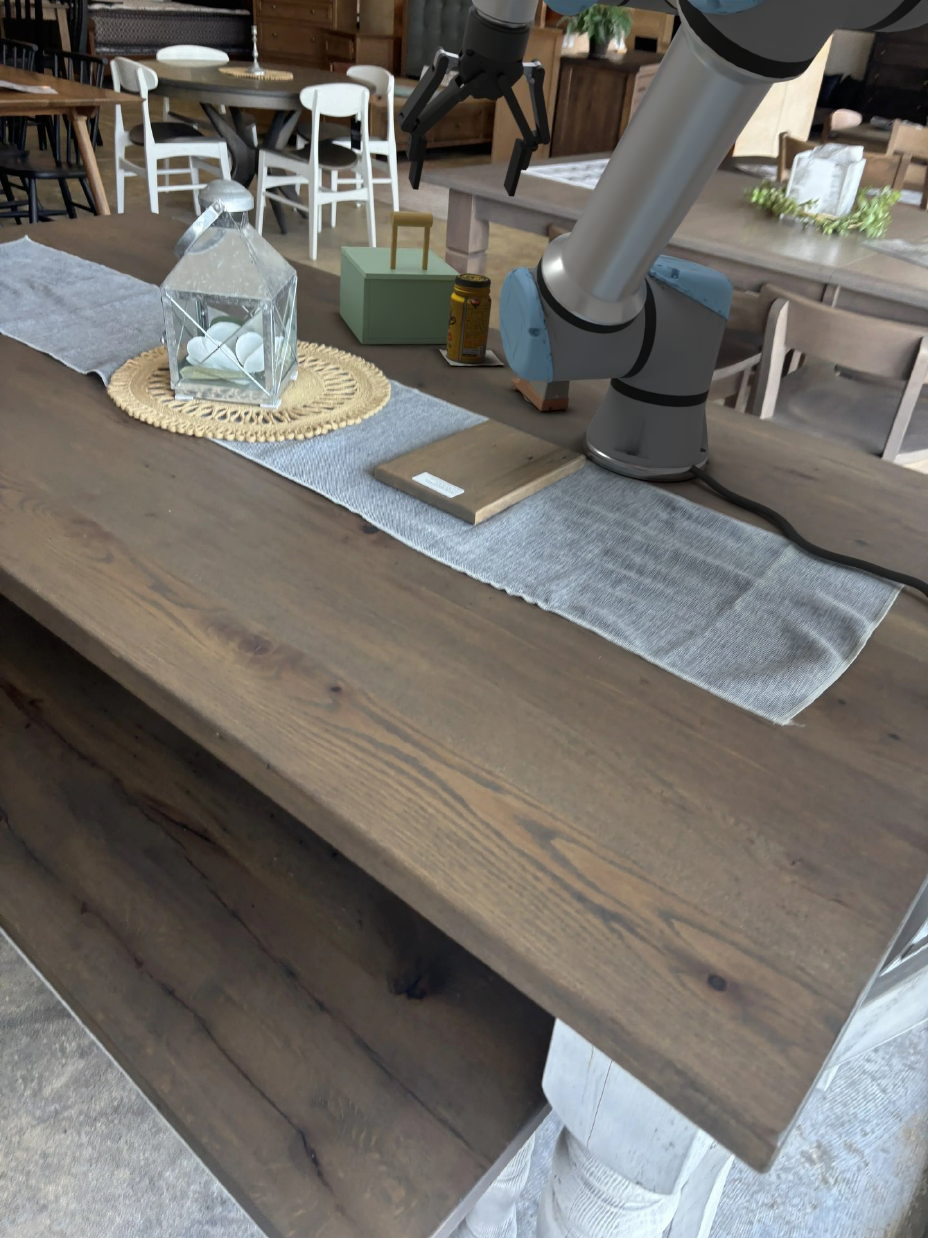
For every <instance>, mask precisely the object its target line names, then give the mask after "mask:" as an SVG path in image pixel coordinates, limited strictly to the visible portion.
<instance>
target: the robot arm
mask: <svg viewBox="0 0 928 1238" xmlns="http://www.w3.org/2000/svg"><path fill="white" fill-rule="evenodd" d="M542 1H543V2H544V4H545V5H547V7H548V8H550V9H551V10H552V11H553V12H554V13H557V14H559V15H562V16H569V17H570V16H576V15H578V14H580V13H583V12H584V11H587V10H589V9H591V8H592V7H594V5H600V6H601V5H602V6H609V7H618V8H619V7H622V8H623V7H624V8H631V9H635V10H637V9H638V10H642V11H643V10H644V11H650V12H657V13H664V14H666V15H670V16H679V19H680V22H681V23H680V25H679V27H678V29H677V31H676V33H675V34H674V36H673V37H672V40H671V42H670V43H669V46H668V48H667V50H666V52H665V54H664V55H663V57H662V60H661V61H660V63H659V65H658V67H657V68H656V70H655V73H654V74H653V77H652V78H651V80H650V82H649V84H648V86H647V87H646V90H645V91H644V93H643V95H642V97H641V99H640V100H639V103H638V105H637V107H636V108H635V111H634V112H633V114H632V116H631V118H630V119H629V122H628V123H627V126H626V127H625V130H624V131H623V133H622V135H621V137H620V138H619V141H618V143H617V145H616V147H615V148H614V150H613V152H612V154H611V156H610V158H609V159H608V162H607V164H606V166H605V167H604V169H603V171H602V173H601V175H600V177H599V179H598V181H597V182H596V183H595V184H596V185H595V186H594V189H593V190H592V192H591V194H590V196H589V198H588V200H587V202H586V204H585V205H584V207H583V209H582V211H581V213H580V215H579V217H578V218H577V221H576V222H575V225H574V226H573V228H572V229H571V231H570V232H566V233H563V234H560V235H558V236H556V237H555V238H553V239H552V240H551V241H550V242H549V243H548V244H547V246H546V248H545V250H544V251H543V253H542V254H541V257H540V259H539V261H538V263H537V265H536V266H535V267H532V268H531V267H529V268H528V267H527V266H521V267H518V268H513V269H511V270H510V271H509V272H508V273H507V274H506V275H505V278H504V280H503V283H502V286H501V290H500V296H499V304H498V305H499V309H498V313H499V314H498V317H499V318H498V319H499V332H500V338H501V343H502V344H501V345H502V348H503V352H504V355H505V358H506V361H507V363H508V365H509V367H510V368H511V370H512V371H513V373H514V374H515V375H516V376H518V378H522V379H524V380H528V381H545V382H547V383H550V382H552V381H568V380H569V381H585V380H607V379H608V380H609V379H610V381H609V386H608V390H607V391H606V393H605V394H604V397H603V399H602V401H601V402H600V403H599V406H598V408H597V409H596V411H595V413H594V414H593V418H592V419H591V421H590V423H589V424H588V426H587V428H586V430H585V432H584V438H583V445H582V449H583V451H584V453H585V454H586V456H587V458H589V459H590V460H592V462H594V463H596V464H597V465H598V466H600V467H603V468H605V469H606V470H609V471H611V472H614V473H617V474H619V475H623V476H626V477H629V478H635V479H639V480H644V481H651V482H654V481H655V482H680V481H681V482H682V481H686V480H690V479H693V478H695V477H696V478H698V479H699V480H701V482H703V483H705V484H706V485H707V486H708V487H710V488H711V489H712V490H713V491H715V492H716V493H717V494H719V495H720V496H722V497H723V498H725V499H727V500H729V501H731V502H733V503H735V504H737V505H739V506H742V507H744V508H747V509H749V510H752V511H754V512H757V513H758V514H761V515H763V516H764V517H766V518H768V519H770V520H771V521H773V522H775V523H776V524H777V525H778V526H779V527H780V528H781V529H782V531H783V532H784V534H785V535H786V537H788V538H789V539H790V540H791V541H792V543H794V544H795V545H796V546H798V547H799V548H800V549H802V550H803V551H805V552H807V553H808V554H811V555H812V556H815V557H817V558H820V559H822V560H826V561H829V562H832V563H836V564H840V565H842V566H843V565H844V566H847V567H851V568H854V569H858V570H861V571H865V572H867V573H870V574H872V575H876V576H878V577H880V578H882V579H886V580H889V581H892V582H896V583H899V584H903V585H906V586H909V587H912V588H914V589H916V590H917V591H919V592H921V593H922V594H923V595H924V596H925V597H926V598H927V599H928V583H927V582H925V581H924V580H921V579H919V578H918V577H915V576H911V575H909V574H905V573H903V572H898V571H895V570H891V569H889V568H886V567H883V566H880V565H878V564H875V563H872V562H870V561H867V560H863V559H860V558H857V557H853V556H849V555H845V554H842V553H837V552H834V551H831V550H827V549H825V548H822V547H820V546H817V545H815V544H814V543H812V542H809V541H808V540H806V539H805V538H804V537H802V535H801V534H799V533H798V532H797V530H796V529H795V528H794V526H793V525H792V524H791V523H790V522H789V521H788V519H786V518H785V517H784V516H783V515H781V514H780V513H778V512H777V511H775V510H774V509H772V508H770V507H768V506H766V505H764V504H762V503H759V502H757V501H756V500H755V501H754V500H751V499H749V498H747V497H745V496H743V495H740V494H738V493H736V492H734V491H732V490H730V489H729V488H727V487H725V486H723V485H722V484H721V483H719V482H718V481H717V480H716V479H715V478H713V477H712V476H711V475H709V474H708V473H706V472H705V469H706V464H707V461H708V458H709V442H708V441H709V439H708V437H709V436H708V424H707V411H706V410H707V409H706V405H707V400H708V396H709V394H710V393H709V392H710V389H711V384H712V380H713V377H714V373H715V369H716V366H717V361H718V357H719V353H720V350H721V346H722V342H723V338H724V335H725V331H726V327H727V323H728V321H729V320H730V319H731V318H730V311H731V305H732V300H733V295H734V285H733V283H732V281H731V279H730V278H729V277H727V275H725V274H723V273H722V272H720V271H718V270H715V269H713V268H711V267H709V266H706V265H702V264H699V263H696V262H693V261H691V260H687V259H682V258H679V257H676V256H671V255H666V254H662V253H663V251H664V250H665V249H666V247H667V245H668V244H669V242H670V241H671V240H672V238H673V236H674V234H675V233H676V232H677V231H678V229H679V227H680V226H681V224H682V223H683V221H684V219H685V218H686V217H687V215H688V214H689V212H690V211H691V209H692V208H693V206H694V204H695V203H696V202H697V200H698V198H699V197H700V196H701V194H702V193H703V191H704V189H705V188H706V187H707V185H708V184H709V182H710V181H711V179H712V178H713V176H714V175H715V173H716V172H717V170H718V168H719V167H720V166H721V164H722V163H723V161H724V160H725V158H726V157H727V155H728V153H729V152H730V150H731V149H732V148H733V146H734V145H735V143H736V141H737V140H738V138H739V137H740V135H741V134H742V132H743V131H744V129H745V128H746V126H747V125H748V123H749V121H750V120H751V119H752V117H753V116H754V114H755V113H756V111H757V109H758V108H759V107H760V105H761V104H762V102H763V101H764V99H765V97H766V96H767V95H768V93H769V92H770V90H771V89H772V87H773V85H774V84H778V83H786V82H789V81H793V80H796V79H798V78H799V77H801V76H803V75H804V74H805V73H806V71H807V70H808V69H809V67H810V66H811V64H812V63H813V61H815V59H816V57H817V56H818V54H819V53H820V52H821V50H822V49H823V47H824V46H825V45H826V43H827V42H828V40H829V39H830V37H831V36H832V34H833V33H834V32H835V31H836V30H838V29H847V30H856V31H863V32H878V33H893V32H902V31H907V30H911V29H915V28H919V27H921V26H924V25H926V24H928V0H542ZM471 2H472V5H471V6H470V7H469V9H468V13H467V14H468V15H467V19H466V24H465V27H464V34H463V40H462V47H461V48H460V50H459V51H458V53H453V52H448V51H446V50H445V48H444V47H442V46H441V45H439V46H436V47H435V48H434V50H433V54H432V58H431V61H430V64H429V66H428V68H427V69H426V71H425V72H424V74H423V75H422V77H421V78H420V80H419V81H418V83H417V84H416V86H415V88H414V89H413V90H412V92H411V93H410V95H409V96H408V97H407V99H406V101H405V102H404V103H403V106H402V107H401V109H400V110H399V111H398V113H397V114H396V121H397V123H398V125H399V127H400V130H401V131H402V132H403V133H408V137H407V143H406V148H405V153H406V157H407V159H408V161H409V162H410V166H409V172H408V177H407V178H408V181H409V183H410V186H411V188H412V190H414V191H415V190H416V191H418V190H420V183H421V179H422V174H423V173H422V172H423V168H424V163H425V157H426V152H427V147H428V142H429V140H428V138H427V136H426V133H428V132H429V131H430V130H431V129H432V128H433V127H434V126H435V125H436V124H437V123H439V122H440V120H442V119H443V118H444V117H445V116H446V115H448V113H449V112H451V110H453V109H454V108H455V107H456V106H457V105H459V103H463V102H465V101H466V99H468V98H469V97H470V96H471V97H472V99H474V100H483V99H487V100H489V101H493V102H497V101H498V100H499V99H501V98H502V97H503V98H504V100H505V103H506V105H507V107H508V109H509V111H510V113H511V115H512V117H513V120H514V121H515V124H516V126H517V128H518V130H519V132H520V134H521V136H522V138H520V137H516V138H515V141H514V144H513V148H512V152H511V155H510V158H509V159H510V160H509V164H508V167H507V171H506V175H505V178H504V182H503V187H504V189H505V191H506V193H507V195H508V197H511V198H514V197H515V195H516V192H517V189H518V185H519V181H520V177H521V174H522V171H527V170H528V169H529V166H530V163H531V158H532V156H533V153H534V152H537V151H538V149H539V145H544V146H547V145H549V144H550V143H551V133H550V126H549V120H548V119H549V118H548V112H547V107H546V100H545V93H544V83H545V76H546V69H545V68H544V66H543V65H542V63H541V61H540V60H539V59H538V58H536V57H534V58H532V60H531V61H530V62H523V61H524V58H525V55H526V53H527V52H526V51H527V48H528V43H529V40H530V37H531V36H530V35H531V31H532V27H533V26H532V24H531V22H532V21H533V20H535V16H536V13H537V9H538V4H539V0H471ZM454 68H456V69H457V72H458V73H456V74H455V75H454V76H453V77H452V78H451V79H450V80H449V82H448V85H446V87H445V88H443V90H441V91H440V92H439V93H438V94H437V95H436V96H435V97H434V98H433V96H434V94H435V93H436V92H437V90H438V89H439V87H440V86H441V84H442V83H443V81H444V79H445V76H446V75H449V74H450V73H451V71H452V69H454ZM522 77H524V79H525V81H526V83H527V84H528V85H527V86H528V91H529V96H530V102H531V108H532V115H533V121H534V126H535V129H533V130H532V129H531V127H530V125H529V122H528V120H527V117H526V116H525V114H524V112H523V109H522V108H521V105H520V103H519V100H518V99H517V96H516V94H515V92H514V90H513V86H515V85H516V83H517V82H518V81H520V79H522ZM432 98H433V99H432ZM431 99H432V100H431ZM430 100H431V101H430Z"/></svg>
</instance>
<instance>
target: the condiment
mask: <svg viewBox="0 0 928 1238" xmlns="http://www.w3.org/2000/svg"><path fill="white" fill-rule="evenodd" d="M491 285H492V281H491V278H489V277H488V276H486V275H482V274H478V273H471V272H467V273H466V272H465V273H459V275H457V276H456V278H455V287H454V290H455V292H454V293H453V294H452V295H451V301H450V303H451V304H450V315H449V326H448V337H447V344H446V349H438V350H439V352H440V353H441V355H442V357H443V358H444V359H445V360H446V361H447V362H448V364H449V365H450V366H459V367H460V366H462V367H463V366H466V367H472V366H473V367H474V366H475V367H476V366H498V365H499V366H505V363H503V362H502V361H501V360H500V359H499V358H498V357H497V356H496V354H495V353H494V352H493V351H492V349H487V347H488V337H489V329H490V327H489V326H490V318H491V311H492V297H491V296H490V293H491Z"/></svg>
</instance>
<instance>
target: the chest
mask: <svg viewBox="0 0 928 1238" xmlns="http://www.w3.org/2000/svg"><path fill="white" fill-rule="evenodd" d="M339 277H340V279H339V281H340V282H339V284H340V285H339V315H340V317H341V318H342V320H343V321H344V323H345V324H346V325H347V326H348V328H349V329H350V330H351V331H352V333H353V335H354V336H355V337H356V338H357V340H358V342H359V343H360V344H361V345H447V337H448V326H449V315H450V304H451V303H450V301H451V295H452V294H453V293H454V292H455V290H454V287H455V280H408V279H365V278H364V276H363V275H362V274H361V273H360V272H359V271H358V270H357V269H356V268H355V266H354V265H353V264H352V263H351V262H350V261H349V260H348V259H347V258H346V256H345V255H344V254H343V253H342V252H341V251H340V275H339Z"/></svg>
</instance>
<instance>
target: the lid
mask: <svg viewBox="0 0 928 1238" xmlns="http://www.w3.org/2000/svg"><path fill="white" fill-rule="evenodd" d="M389 218H390V225H391V239H390V240H391V241H390V247H377V246H344V245H341V246H340V253H341V252H342V253H343V254H344V255H345V256H346V258H347V259H348V260H349V261H350V262H351V263H352V264H353V265H354V266H355V268H356V269H357V270H358V271H359V272H360V273H361V274H362V275H363V276H364V278H365V279H408V280H455V278H456V276H457V275H459V274H460V273H459V272H458V271H457V270H456V269H454V268H453V267H452V266H451V265H449V264H448V263H447V262H446V261H444V260H443V259H442V258H441V257H440V256H439V255H437V254H436V253H435V252H433V250H431V249H430V236H431V228H432V227H433V224H434V215H433V213H432V212H423V211H421V212H419V211H397V210H396V211H395V210H392V211H391V212H390V215H389ZM398 227H406V228H424V230H423V244H422V245H423V246H422V248H413V247H411V248H409V247H398V232H399V231H398Z"/></svg>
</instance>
